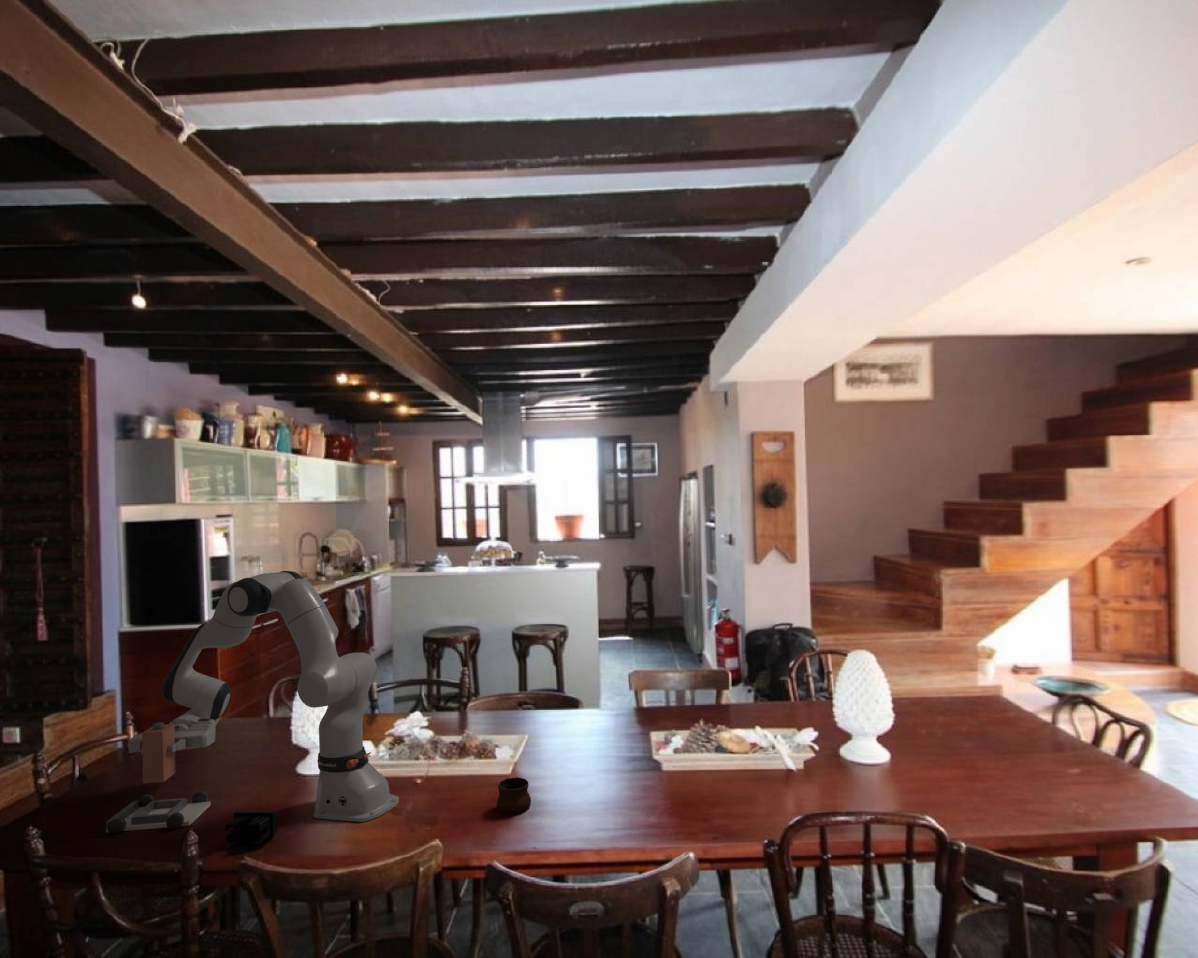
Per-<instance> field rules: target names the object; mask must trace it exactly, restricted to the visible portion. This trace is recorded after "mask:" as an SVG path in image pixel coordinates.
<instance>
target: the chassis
mask: <svg viewBox="0 0 1198 958" xmlns="http://www.w3.org/2000/svg"><path fill="white" fill-rule="evenodd" d="M208 800H209V793H208V792H207V791H206V790H204V789H203V790H197V791H196V793H195V794H193V796H192V798H191V802H188V797H183V798H171V799H157V800H155V797H154V796H153V795H152V794H145V795H143V796H142V797H140V798H139V799H138V800H135V801H134V800H133V801H131V802H130V803H129V804H128V805H127V806H125V807H123V808H122V809H121V810H119V812H117V813H116V814H114V815H113V816H112V817H110V818H109V819H108V820H106V822H105V833H109V834H111V835H118V834H120V833H121V832H128V831H130V832H131V831H137V830H138V831H140V830H152V829H164V828H165V829H166V828H168V829H169V830H177V829H179V828H180V827H186V826H188V827H189V826H190V825H192V824H193V822H195V821H196V820H197V819H198V818H199V817H200V816H202V814H203V813H204V812H205V811H206V810H207V809H209V807H210V806H211V805H212V804H211V801H208Z"/></svg>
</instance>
